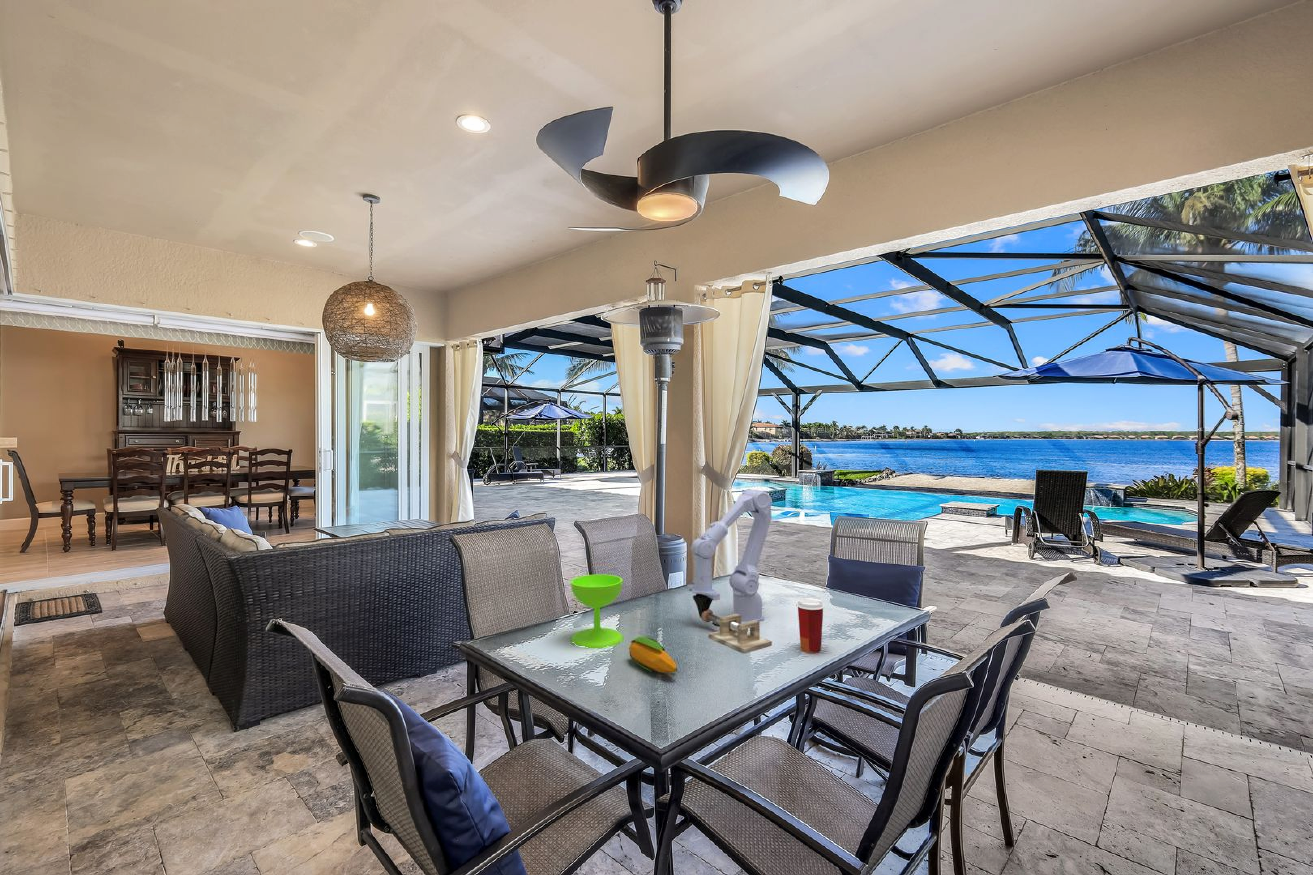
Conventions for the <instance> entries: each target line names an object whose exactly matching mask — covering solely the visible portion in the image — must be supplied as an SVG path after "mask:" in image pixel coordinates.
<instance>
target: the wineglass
mask: <svg viewBox="0 0 1313 875" xmlns="http://www.w3.org/2000/svg"><path fill="white" fill-rule="evenodd" d="M570 587H571V591H572V594H573V596H574V597H575V598H576V600H577V601H579V602H580V603H581V604H583V605H584V606H585V607H590V608H593V627H592V628H586V629H582V630H580V631H577V632H576V633H575V634H573V635H572V637H571V639H572V642H574V643H575V644H576V645H578V646H585V647H588V648H598V649H604V648H603V647H607V646H611V647H614V646H613V645H615V646H617V645H619V644H620V643H622V642H623V640H624V637H623V634H622V632H620V631H618V630H617V629H613V628H609V627H608V628H606V627H601V608H602V607H606V606H609V605H610V604H611V603H612V602H614V601H615V600H616V599H617V597H619V594H620V593H621V590H622V588H623V578H622V577H620V576H618V575H614V574H601V573H600V574H599V573H598V574H587V575H581V576H578V577H574V578H572V579H571V580H570ZM572 642H571V643H572ZM619 642H620V643H619ZM618 643H619V644H618ZM616 644H617V645H616ZM578 646H577V647H578ZM588 648H587V649H588ZM607 648H608V647H607Z"/></svg>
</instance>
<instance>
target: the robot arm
mask: <svg viewBox="0 0 1313 875" xmlns="http://www.w3.org/2000/svg"><path fill="white" fill-rule="evenodd" d="M772 504H773V500H772V497H771V496H770V495H769V492H767V491H765V490H757V489H756V490H755V489H751V488H747V489H745V490H743V491H742V493H741V494H739V496H737V499H736V501H735V502H734V504H733V505H732V506H731V507H730V508H729V510H728V511H727V512H726V513H725V515H723V517H722V518H721V520H720V521H719V520H718V521H714V522H710V524H709V527H708V528H707V529H706V531H705V532H704V533H701V535H700V537H698V538H696V539H694V541H692V544H691V546H690V551H691V552H692V554H693V567H694V568H693V571H694V572H693V574H694V575H693V576H694V580H693V582H694V584H692V583H691V584H687V592H692V594H694V595H693V596H692V599H693V601H694V602H695V606H696V608H697V611H698V615H699V618H700V619H702V612H703V611H704V610H705V609H709V610H710V607H711V604H712V603H713V601H719V600H721V596H720V592H717V591H716V590H715V589H714V588H713V582H712V581H713V579H712V578H713V570H712V563H713V561H712V558H713V557H712V556H713V555H714V554H715V552H716V547H717V546H718V545H719V544H720V543H721V542H722V541H723V539H724V538H725V537H726V536H727V535H728V533H729V528H730V527H731V526H732V525H733V524H734V523H736V521H737V520H738V519H739V518H740V517H741V516H742V515H743V514H744V513H749V512H750V513H751V515H752V517H753V523H752V525H751V529H750V532H749V535H748V539H747V542H746V546H745V549H744V550H743V551H744V552H743V556H742V558H741V562H740V563H739V564H737V565H735V568H734V570H733V572H732V573H731V574H730V577H729V583H728V584H729V585H730V587H731V589H732V594H733V595H732V598H733V599H732V600H733V602H732V605H733V608H732V609H733V612H732V613H733V614H739V615H741V624H742V623H746V622H750V621H754V620H756V621H758V622H760V621H764V620H765V618H764V617H763V600H762V596H761V594H759V592H758V590H759V588H760V587H759V585H760V584H759V580H760V573H759V571H758V565H759V561H760V558H761V555H762V552H763V549H764V544H765V541H766V539H767V538H766V537H767V535H768V532H769V528H770V525H771V521H772V507H771V506H772ZM733 614H732V615H733Z"/></svg>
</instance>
